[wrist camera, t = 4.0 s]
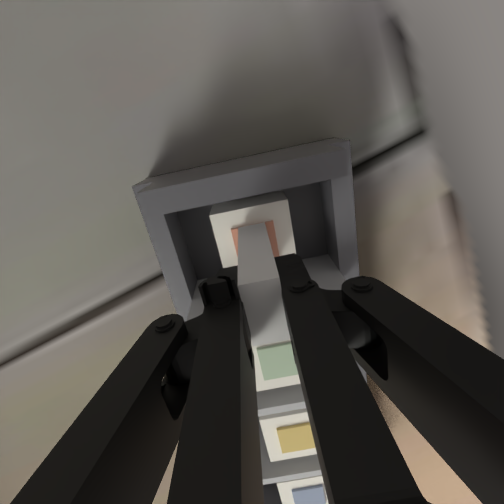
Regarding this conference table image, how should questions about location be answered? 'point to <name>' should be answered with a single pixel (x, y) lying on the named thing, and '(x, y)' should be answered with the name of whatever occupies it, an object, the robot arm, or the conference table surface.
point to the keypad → (304, 231)
